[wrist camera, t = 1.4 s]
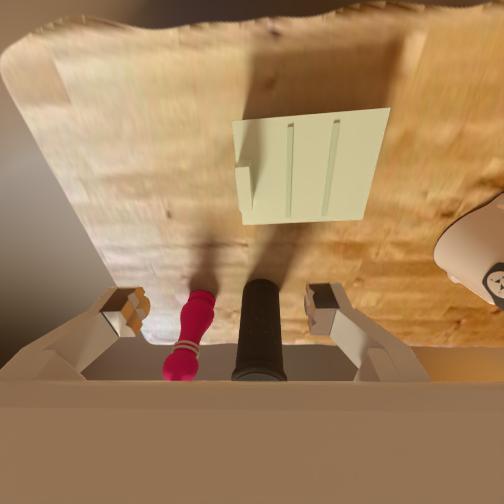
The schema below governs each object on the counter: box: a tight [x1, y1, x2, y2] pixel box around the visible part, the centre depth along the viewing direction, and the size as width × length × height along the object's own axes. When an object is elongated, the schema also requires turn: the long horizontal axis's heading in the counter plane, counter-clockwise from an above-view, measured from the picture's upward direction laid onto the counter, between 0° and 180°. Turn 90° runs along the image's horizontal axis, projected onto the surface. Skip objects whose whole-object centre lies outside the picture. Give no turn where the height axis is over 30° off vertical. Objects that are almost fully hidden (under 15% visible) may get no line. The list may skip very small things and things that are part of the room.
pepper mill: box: [162, 290, 215, 381], centre depth 41 cm, size 7×7×20 cm
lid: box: [232, 108, 391, 225], centre depth 25 cm, size 17×13×6 cm
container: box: [231, 280, 287, 381], centre depth 39 cm, size 9×9×20 cm
